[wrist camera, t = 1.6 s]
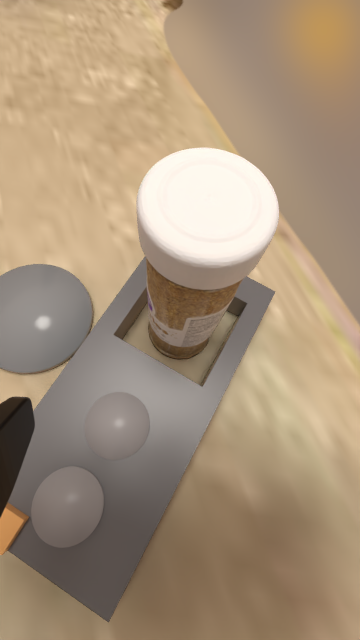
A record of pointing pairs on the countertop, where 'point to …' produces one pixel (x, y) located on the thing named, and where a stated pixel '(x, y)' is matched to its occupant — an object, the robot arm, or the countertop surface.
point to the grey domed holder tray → (114, 450)
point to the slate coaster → (41, 318)
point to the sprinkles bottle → (200, 241)
